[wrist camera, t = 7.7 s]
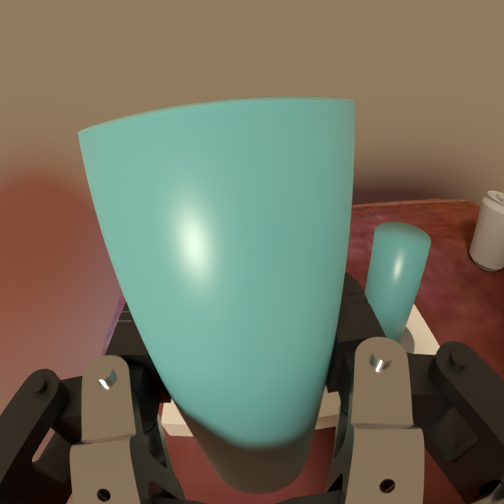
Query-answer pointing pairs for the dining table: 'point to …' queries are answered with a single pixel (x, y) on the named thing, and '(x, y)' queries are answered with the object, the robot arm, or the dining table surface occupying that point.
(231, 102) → the pin
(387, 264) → the seated pin
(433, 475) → the dining table surface
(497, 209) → the can
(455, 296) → the dining table surface
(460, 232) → the dining table surface
